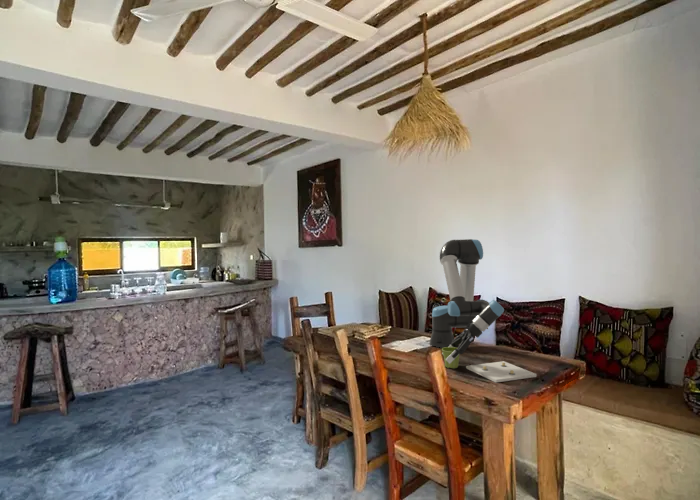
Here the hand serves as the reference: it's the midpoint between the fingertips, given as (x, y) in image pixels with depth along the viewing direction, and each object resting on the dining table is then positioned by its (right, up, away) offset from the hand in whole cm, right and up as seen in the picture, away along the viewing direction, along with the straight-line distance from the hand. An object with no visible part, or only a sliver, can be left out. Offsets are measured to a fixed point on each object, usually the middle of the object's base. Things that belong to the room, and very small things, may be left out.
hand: (445, 358), depth 200 cm
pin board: (+23, -4, -10) cm, 26 cm away
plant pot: (+3, -4, 0) cm, 5 cm away
